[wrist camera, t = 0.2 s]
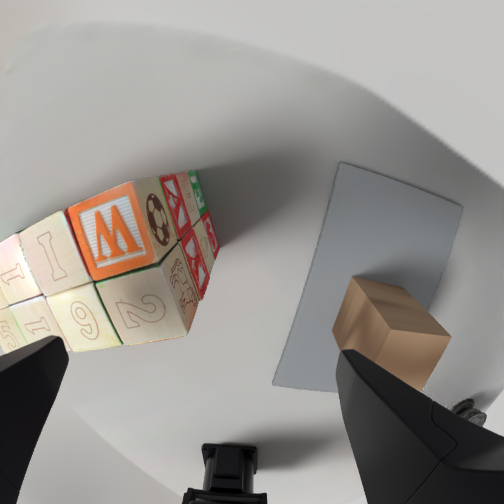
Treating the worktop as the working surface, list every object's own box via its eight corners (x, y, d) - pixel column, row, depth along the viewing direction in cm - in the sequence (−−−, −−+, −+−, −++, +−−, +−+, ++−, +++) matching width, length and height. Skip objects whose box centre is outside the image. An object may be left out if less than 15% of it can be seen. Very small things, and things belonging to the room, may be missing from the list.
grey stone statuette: (481, 393, 29) (521, 449, 17) (463, 422, 30) (496, 478, 19) (453, 400, 28) (493, 464, 17) (434, 430, 30) (466, 492, 19)
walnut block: (380, 339, 25) (415, 398, 17) (330, 332, 24) (355, 397, 17) (403, 287, 23) (451, 336, 15) (351, 276, 23) (390, 329, 15)
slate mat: (381, 392, 27) (382, 395, 27) (272, 381, 26) (272, 385, 26) (460, 206, 21) (463, 207, 21) (339, 162, 21) (340, 162, 20)
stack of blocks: (31, 300, 25) (-43, 363, 13) (8, 244, 23) (-78, 291, 11) (222, 247, 23) (190, 339, 11) (197, 167, 21) (131, 179, 9)
